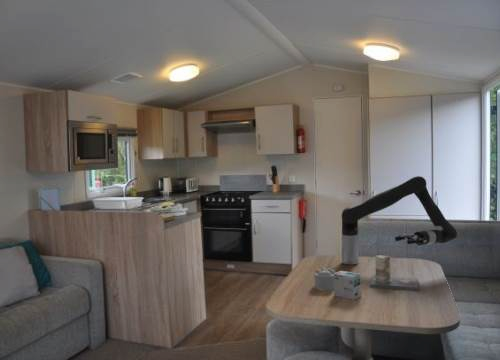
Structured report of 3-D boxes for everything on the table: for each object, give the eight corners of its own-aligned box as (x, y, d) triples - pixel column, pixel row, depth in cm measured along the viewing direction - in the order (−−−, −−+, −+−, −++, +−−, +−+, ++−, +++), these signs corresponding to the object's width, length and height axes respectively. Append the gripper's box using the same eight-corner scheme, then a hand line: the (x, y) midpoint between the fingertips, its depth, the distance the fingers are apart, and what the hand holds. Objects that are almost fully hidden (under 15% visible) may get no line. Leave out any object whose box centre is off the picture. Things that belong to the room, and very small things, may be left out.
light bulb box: (361, 296, 197) (361, 273, 197) (354, 300, 192) (353, 277, 192) (341, 292, 205) (340, 269, 204) (333, 295, 200) (333, 273, 199)
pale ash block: (382, 281, 213) (382, 258, 212) (375, 279, 217) (375, 255, 216) (390, 280, 215) (390, 256, 214) (383, 277, 219) (383, 254, 218)
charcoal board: (370, 287, 210) (370, 283, 210) (372, 277, 225) (372, 274, 225) (418, 290, 203) (418, 286, 203) (417, 280, 218) (417, 277, 218)
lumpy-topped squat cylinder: (313, 289, 209) (313, 272, 209) (317, 282, 222) (316, 265, 221) (335, 291, 206) (334, 273, 206) (337, 283, 219) (337, 266, 218)
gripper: (414, 228, 234) (391, 230, 228) (435, 232, 221) (412, 235, 215) (414, 241, 235) (391, 244, 228) (435, 247, 222) (411, 250, 215)
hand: (401, 240), depth 222 cm, fingers open, 8 cm apart
